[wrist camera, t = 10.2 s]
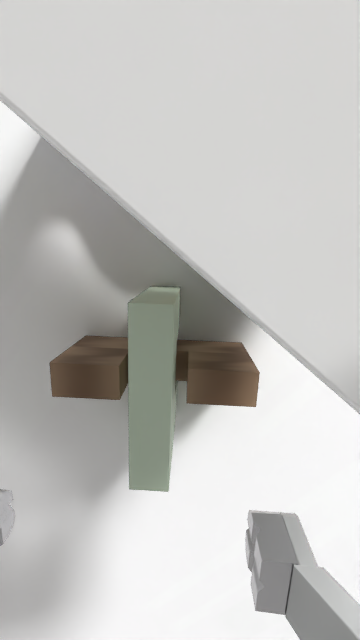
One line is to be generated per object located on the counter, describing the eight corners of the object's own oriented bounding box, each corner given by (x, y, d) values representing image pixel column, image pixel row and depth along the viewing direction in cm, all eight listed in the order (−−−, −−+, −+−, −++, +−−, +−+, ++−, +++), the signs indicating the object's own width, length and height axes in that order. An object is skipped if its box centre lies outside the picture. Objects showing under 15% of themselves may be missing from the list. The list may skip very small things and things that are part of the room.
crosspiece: (175, 413, 26) (168, 491, 17) (149, 411, 26) (129, 489, 17) (180, 287, 23) (174, 304, 15) (151, 286, 24) (127, 302, 15)
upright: (241, 342, 24) (259, 372, 18) (239, 369, 25) (255, 407, 19) (85, 335, 25) (49, 362, 18) (86, 361, 25) (52, 396, 19)
